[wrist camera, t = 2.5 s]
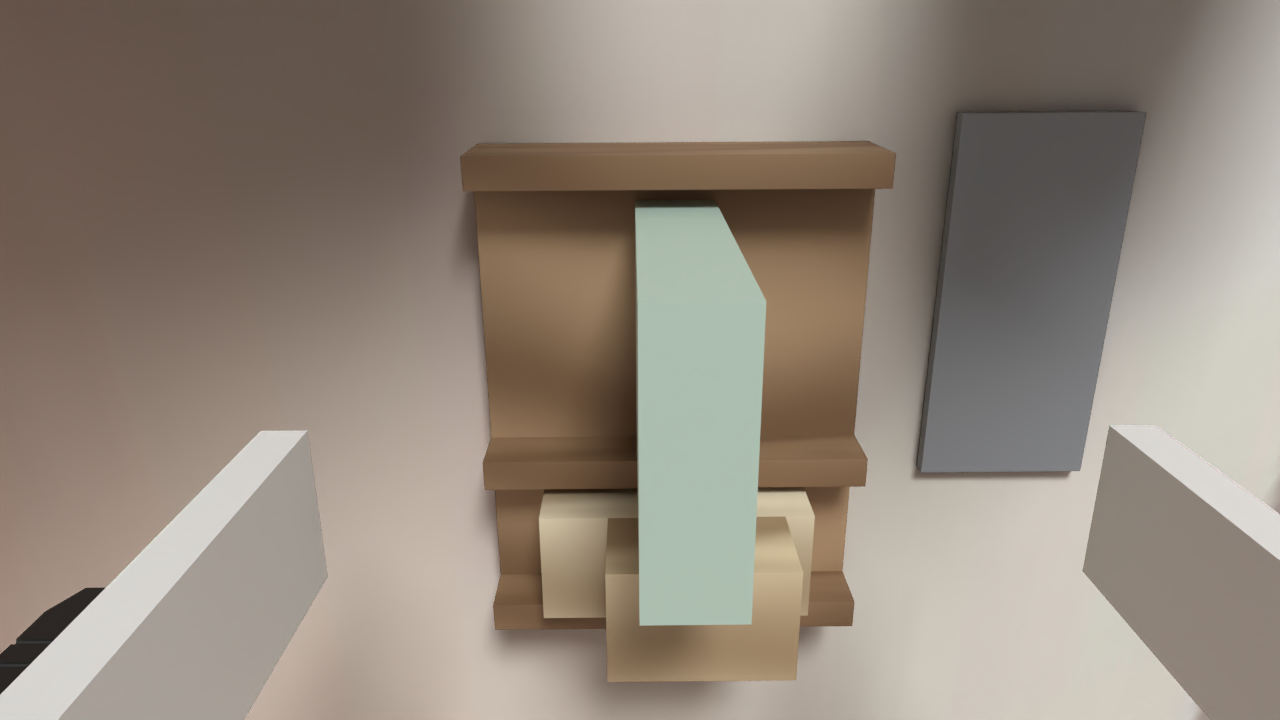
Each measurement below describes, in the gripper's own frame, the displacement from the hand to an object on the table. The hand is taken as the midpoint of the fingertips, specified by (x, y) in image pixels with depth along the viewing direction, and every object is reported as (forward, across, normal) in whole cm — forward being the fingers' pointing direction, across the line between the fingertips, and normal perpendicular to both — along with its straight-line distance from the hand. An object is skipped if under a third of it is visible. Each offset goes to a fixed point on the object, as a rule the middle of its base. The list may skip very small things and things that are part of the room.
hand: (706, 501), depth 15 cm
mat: (+10, +9, 0) cm, 14 cm away
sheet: (+9, 0, 0) cm, 9 cm away
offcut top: (+7, 0, -6) cm, 9 cm away
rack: (+10, 0, -2) cm, 10 cm away
